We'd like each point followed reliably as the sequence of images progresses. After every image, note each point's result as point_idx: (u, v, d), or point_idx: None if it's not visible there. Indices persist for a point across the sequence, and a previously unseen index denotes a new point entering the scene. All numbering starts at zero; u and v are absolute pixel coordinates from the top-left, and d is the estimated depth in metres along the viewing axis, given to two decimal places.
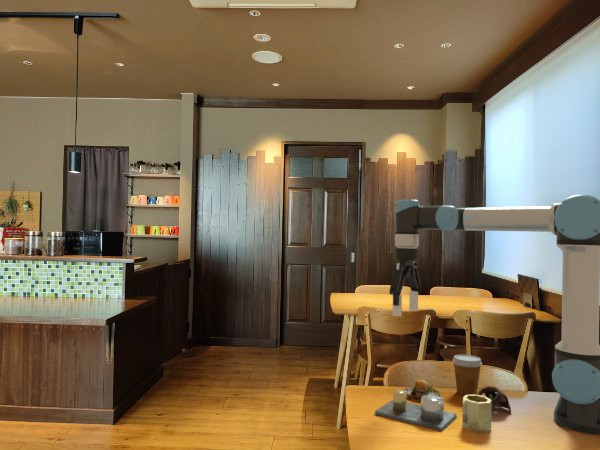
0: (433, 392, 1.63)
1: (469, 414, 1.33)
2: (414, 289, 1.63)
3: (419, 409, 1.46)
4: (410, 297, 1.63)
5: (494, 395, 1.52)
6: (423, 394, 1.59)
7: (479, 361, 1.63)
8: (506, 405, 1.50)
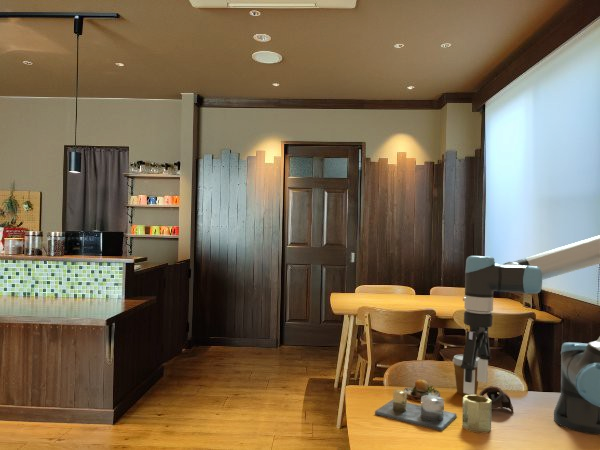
0: (433, 392, 1.63)
1: (469, 414, 1.33)
2: (483, 357, 1.42)
3: (419, 409, 1.46)
4: (478, 366, 1.42)
5: (496, 395, 1.52)
6: (423, 394, 1.59)
7: None
8: (508, 405, 1.50)
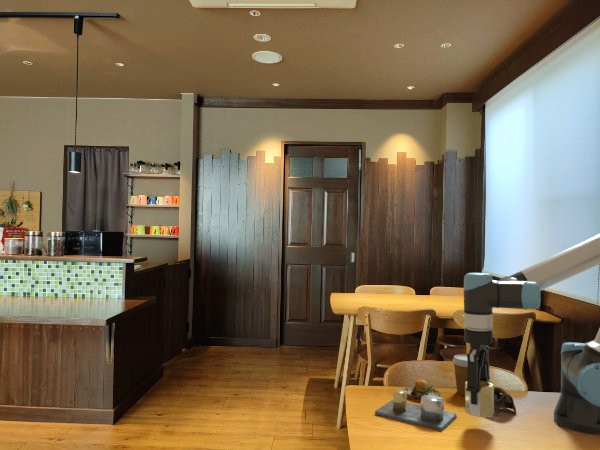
0: (433, 392, 1.63)
1: None
2: None
3: (419, 409, 1.46)
4: None
5: (499, 396, 1.52)
6: (423, 394, 1.59)
7: None
8: (511, 406, 1.49)
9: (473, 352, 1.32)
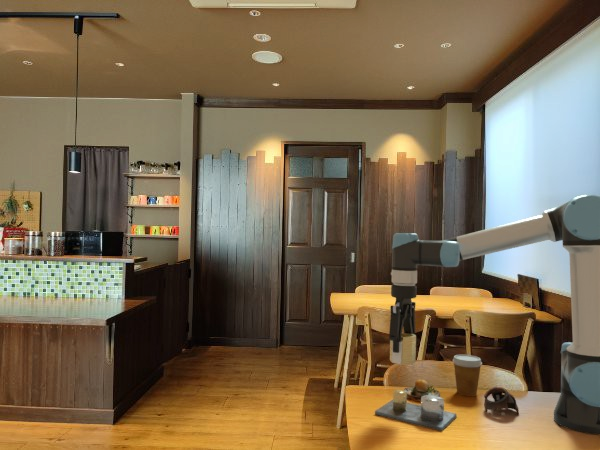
0: (433, 392, 1.63)
1: None
2: None
3: (419, 409, 1.46)
4: None
5: (501, 396, 1.52)
6: (423, 394, 1.59)
7: (479, 361, 1.63)
8: (513, 406, 1.49)
9: (396, 304, 1.43)
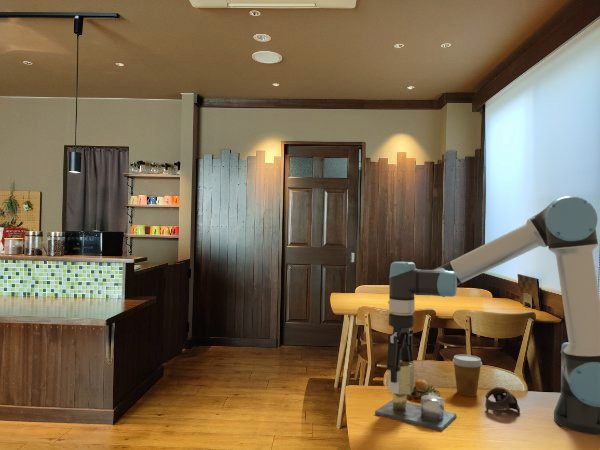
0: (433, 392, 1.63)
1: None
2: None
3: (419, 409, 1.46)
4: None
5: (502, 396, 1.51)
6: (423, 394, 1.59)
7: (479, 361, 1.63)
8: (515, 406, 1.49)
9: (394, 334, 1.43)
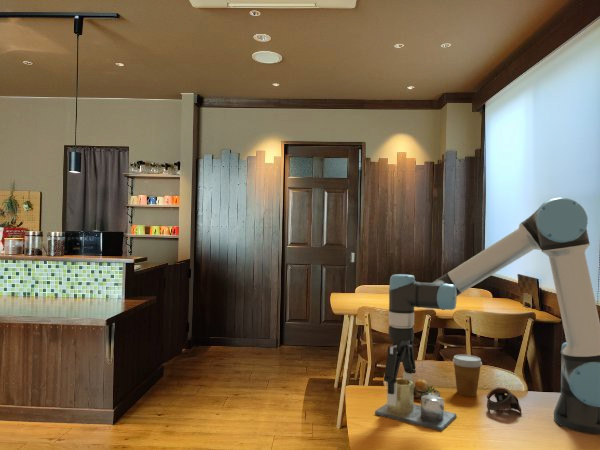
0: (433, 392, 1.63)
1: None
2: (408, 370, 1.52)
3: (419, 409, 1.46)
4: None
5: (504, 396, 1.51)
6: (423, 394, 1.59)
7: (479, 361, 1.63)
8: (516, 406, 1.49)
9: (394, 346, 1.43)
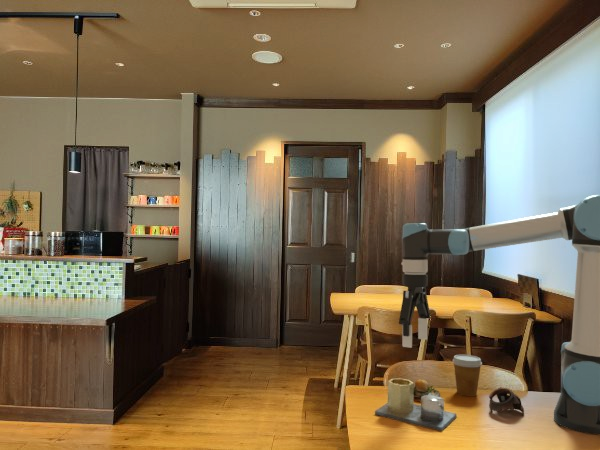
0: (433, 392, 1.63)
1: (392, 396, 1.44)
2: (423, 316, 1.55)
3: (419, 409, 1.46)
4: (419, 325, 1.55)
5: (506, 397, 1.51)
6: (423, 394, 1.59)
7: (479, 361, 1.63)
8: (519, 407, 1.48)
9: (409, 291, 1.45)
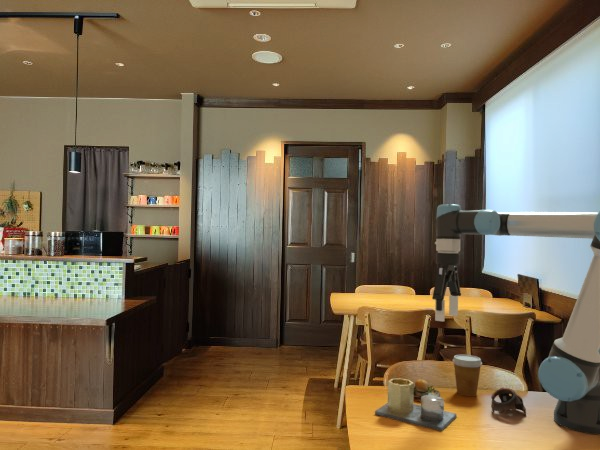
0: (433, 392, 1.63)
1: (392, 396, 1.44)
2: (454, 294, 1.63)
3: (419, 409, 1.46)
4: (450, 302, 1.63)
5: (508, 397, 1.51)
6: (423, 394, 1.59)
7: (479, 361, 1.63)
8: (521, 407, 1.48)
9: None
